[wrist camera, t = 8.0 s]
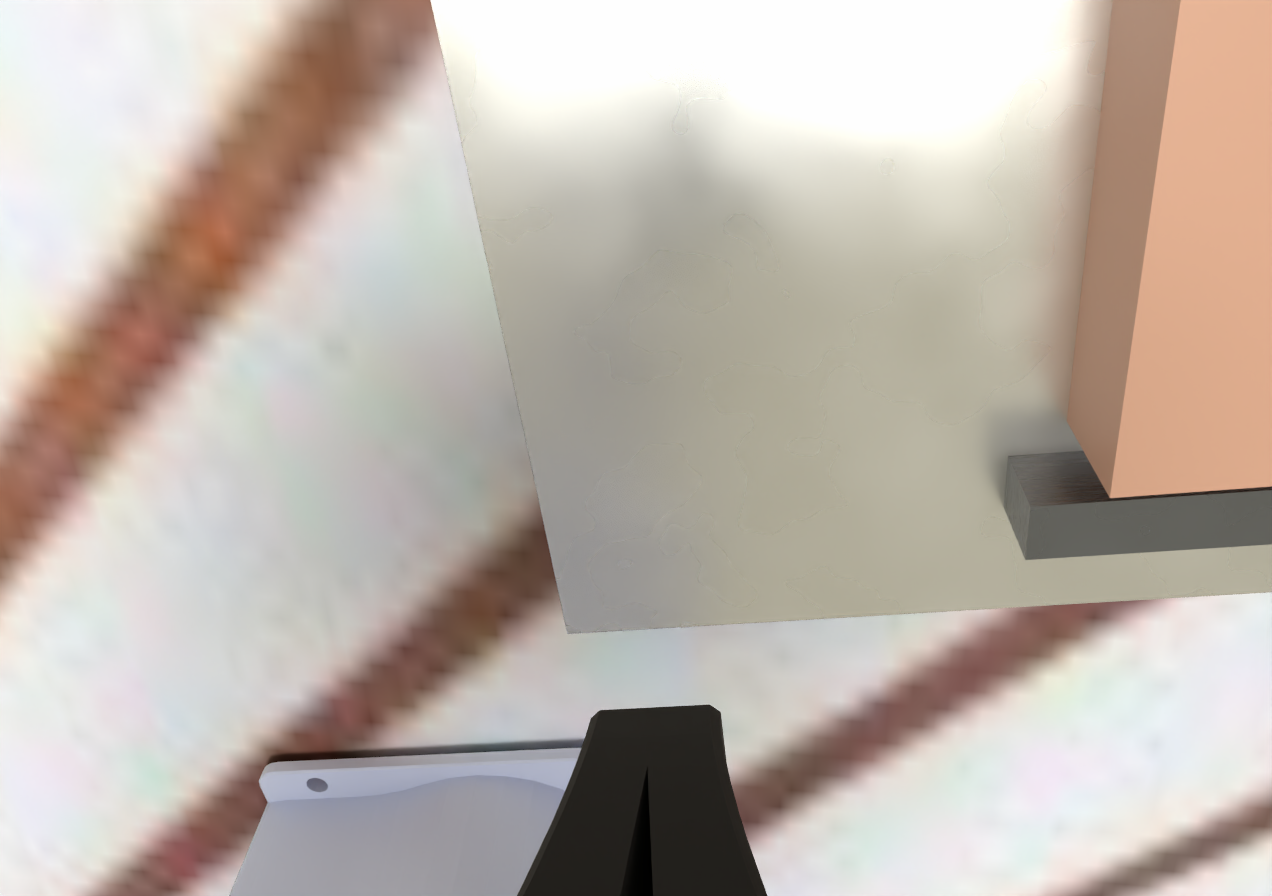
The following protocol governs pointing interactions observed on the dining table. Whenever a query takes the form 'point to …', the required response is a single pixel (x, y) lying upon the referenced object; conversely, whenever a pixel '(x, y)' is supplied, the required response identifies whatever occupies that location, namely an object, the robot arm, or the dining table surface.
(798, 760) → the dining table surface
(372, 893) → the robot arm
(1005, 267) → the dock
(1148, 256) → the peach rectangular panel
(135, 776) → the dining table surface
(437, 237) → the dining table surface
